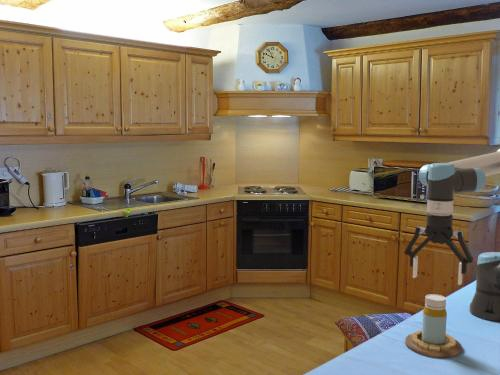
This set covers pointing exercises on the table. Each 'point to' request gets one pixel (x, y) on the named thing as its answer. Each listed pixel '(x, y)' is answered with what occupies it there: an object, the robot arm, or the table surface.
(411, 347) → the ring tray
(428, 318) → the bottle
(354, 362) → the table surface
